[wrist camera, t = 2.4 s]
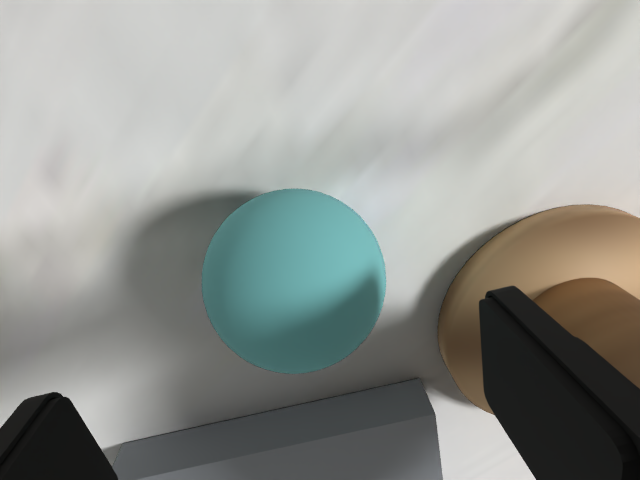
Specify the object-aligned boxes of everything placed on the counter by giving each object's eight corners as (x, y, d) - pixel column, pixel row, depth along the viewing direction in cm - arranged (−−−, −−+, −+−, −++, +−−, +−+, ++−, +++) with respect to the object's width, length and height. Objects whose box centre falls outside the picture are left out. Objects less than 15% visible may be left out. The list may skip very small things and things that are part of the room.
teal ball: (196, 188, 13) (142, 262, 8) (353, 153, 13) (394, 205, 8) (243, 317, 15) (222, 436, 10) (376, 287, 15) (420, 393, 10)
